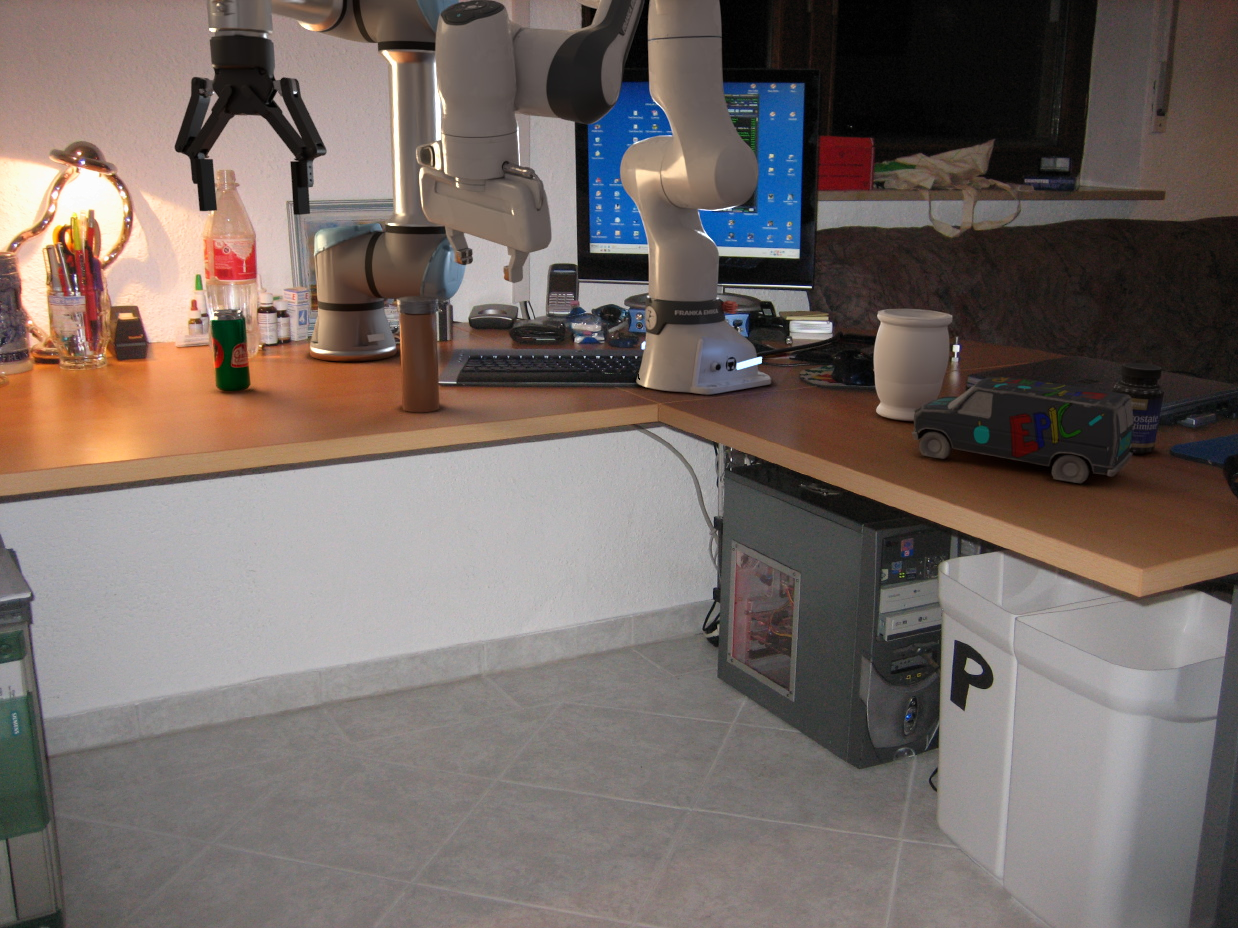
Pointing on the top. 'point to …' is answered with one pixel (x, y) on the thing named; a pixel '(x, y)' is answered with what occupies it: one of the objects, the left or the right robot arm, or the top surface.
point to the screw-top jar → (419, 362)
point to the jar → (910, 360)
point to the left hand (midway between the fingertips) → (254, 213)
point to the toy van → (1032, 426)
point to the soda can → (230, 350)
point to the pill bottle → (1142, 402)
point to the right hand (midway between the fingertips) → (488, 272)
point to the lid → (417, 305)
